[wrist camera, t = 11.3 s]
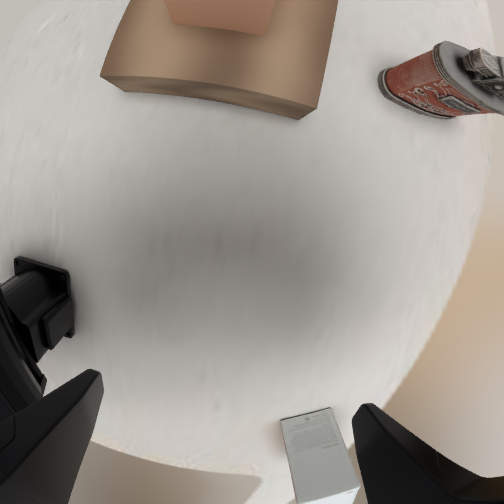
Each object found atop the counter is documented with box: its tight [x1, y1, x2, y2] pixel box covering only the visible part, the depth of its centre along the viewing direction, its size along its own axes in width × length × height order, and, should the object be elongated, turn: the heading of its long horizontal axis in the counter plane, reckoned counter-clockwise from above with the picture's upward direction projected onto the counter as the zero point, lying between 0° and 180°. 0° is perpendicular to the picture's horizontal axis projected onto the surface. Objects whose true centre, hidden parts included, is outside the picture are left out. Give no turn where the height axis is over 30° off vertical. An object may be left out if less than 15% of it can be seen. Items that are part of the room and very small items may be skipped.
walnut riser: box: [100, 0, 338, 120], centre depth 12 cm, size 12×12×4 cm
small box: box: [280, 408, 360, 504], centre depth 21 cm, size 8×6×10 cm
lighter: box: [378, 41, 504, 119], centre depth 11 cm, size 8×3×10 cm, turn 88°
